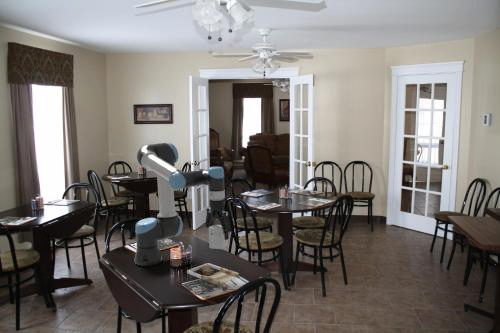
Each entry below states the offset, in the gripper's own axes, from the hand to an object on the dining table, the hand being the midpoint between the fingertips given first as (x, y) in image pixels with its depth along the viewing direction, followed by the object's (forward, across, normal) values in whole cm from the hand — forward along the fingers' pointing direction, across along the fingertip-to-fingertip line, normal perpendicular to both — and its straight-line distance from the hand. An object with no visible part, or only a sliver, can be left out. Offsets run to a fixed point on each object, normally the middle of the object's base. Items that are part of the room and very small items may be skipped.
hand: (218, 243), depth 212 cm
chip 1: (+17, -11, 0) cm, 20 cm away
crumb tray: (+18, -9, -2) cm, 20 cm away
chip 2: (+17, -7, -2) cm, 18 cm away
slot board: (+18, +2, -2) cm, 18 cm away
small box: (+2, 0, 0) cm, 2 cm away
